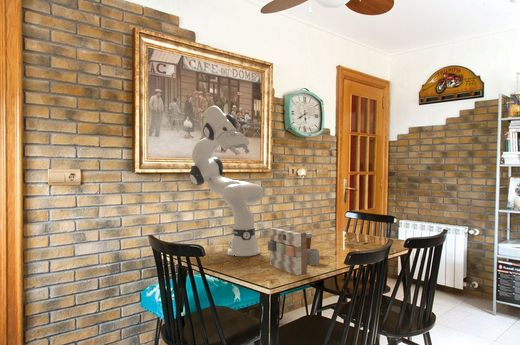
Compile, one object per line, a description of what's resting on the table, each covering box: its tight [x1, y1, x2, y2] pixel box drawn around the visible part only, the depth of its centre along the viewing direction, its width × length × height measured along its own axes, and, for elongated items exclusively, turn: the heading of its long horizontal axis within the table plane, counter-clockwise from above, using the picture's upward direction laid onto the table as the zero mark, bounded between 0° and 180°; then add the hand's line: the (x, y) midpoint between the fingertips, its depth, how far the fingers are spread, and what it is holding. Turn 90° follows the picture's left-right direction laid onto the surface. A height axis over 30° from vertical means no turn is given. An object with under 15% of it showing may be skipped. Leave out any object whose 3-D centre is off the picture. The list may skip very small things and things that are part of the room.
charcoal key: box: [267, 240, 277, 252], centre depth 188 cm, size 4×3×4 cm
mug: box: [307, 248, 320, 266], centre depth 194 cm, size 10×7×7 cm
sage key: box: [276, 243, 286, 254], centre depth 182 cm, size 4×3×4 cm
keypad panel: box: [269, 227, 308, 276], centre depth 183 cm, size 22×6×18 cm, turn 30°
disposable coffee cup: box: [304, 231, 313, 249], centre depth 214 cm, size 10×10×12 cm
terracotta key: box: [286, 246, 295, 257], centre depth 175 cm, size 4×3×4 cm
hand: (243, 153), depth 194 cm, fingers open, 8 cm apart
